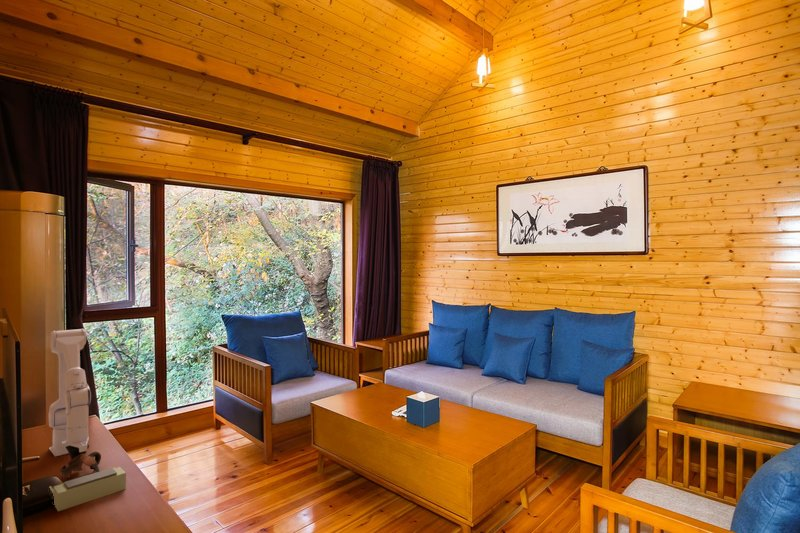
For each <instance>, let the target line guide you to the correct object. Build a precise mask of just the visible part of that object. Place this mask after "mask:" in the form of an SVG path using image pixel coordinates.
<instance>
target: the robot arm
mask: <svg viewBox="0 0 800 533" xmlns="http://www.w3.org/2000/svg"><path fill="white" fill-rule="evenodd" d="M49 336H50V337H49V338H50V339H49V340H50V341H49V342H50V352H51V353H52V354H55V355H57V358H58V399H57V400H56V401H54V402H52V404H50V405H49V408H48V417H47V419H48V427H50V428H52V446H50V447H48V448H49V451H50V452H51V453H52V454H53V456H54V457H59V456H62V455H67V454H69V457H70V458H69V459H70V461H71V460H72V459H73V458H75V457H77V456H78V455H80V454H85V455H86V453H87V451H88V449H90V448H89V447H90V444H88V442H89V440H90V438H89V405H91V401H92V392H91V388H90V386H89V384H88V383H87V376H86V371H85V369H83V368H81V356H80V355H81V353H80V352H81V351H82V350H83V349H84V348H85V345H86V343H87V330H86V329H85V328H78V329H64V330H52V331H51V332H50V335H49Z"/></svg>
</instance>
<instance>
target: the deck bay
mask: <svg viewBox="0 0 800 533" xmlns="http://www.w3.org/2000/svg"><path fill="white" fill-rule="evenodd" d="M99 471H100V472H97V473H93V474H91V473H89V474H86V475H83V476H81V477H80V476H79V477H77V478H72V479H69V480H66V481H63V483H60V484H57V485H53V486H52V485H49V487H48V489H49V488H50V490H51V491H52V493H53V496H54V504H53V506H54V505H55V506H54V508H55V509H56V510H57V512H61V511H64V510H67V509H70V508H72V507H76V506H79V505H81V504H85V503H88V502H91V501H94V500H97V499H101V498H103V497H107V496H109V495H112V494H116V493H118V492H121V491H125V490H127V472H126V471H125V470H124V469H123V468H122V467H120V466H118V467H110V468H107V469H104V470H99Z"/></svg>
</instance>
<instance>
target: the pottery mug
mask: <svg viewBox="0 0 800 533" xmlns="http://www.w3.org/2000/svg"><path fill="white" fill-rule="evenodd" d="M101 461H102V455H101V453H100V452H98V451H92V452H91V453H89V454H88V455H86V453H85V454H80V455H78V456H77V457H75V458H73V459H72V460H71V459H70V460H69V461H68V462H67V465H68V466H66V465H63V466H62V467H61V468H60V469H59V472H61V478H62V479H63V478H66V477H67V478H72V476H71V475H72V473H73V472H81V471H83V467H82V466H83V464H84V465H85V466H87V467H89V469H90V470H92V471H91V473H90V474H93V473H97V472H100V471H101V470H100V468H99V465H100V462H101ZM72 471H73V472H72Z"/></svg>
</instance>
